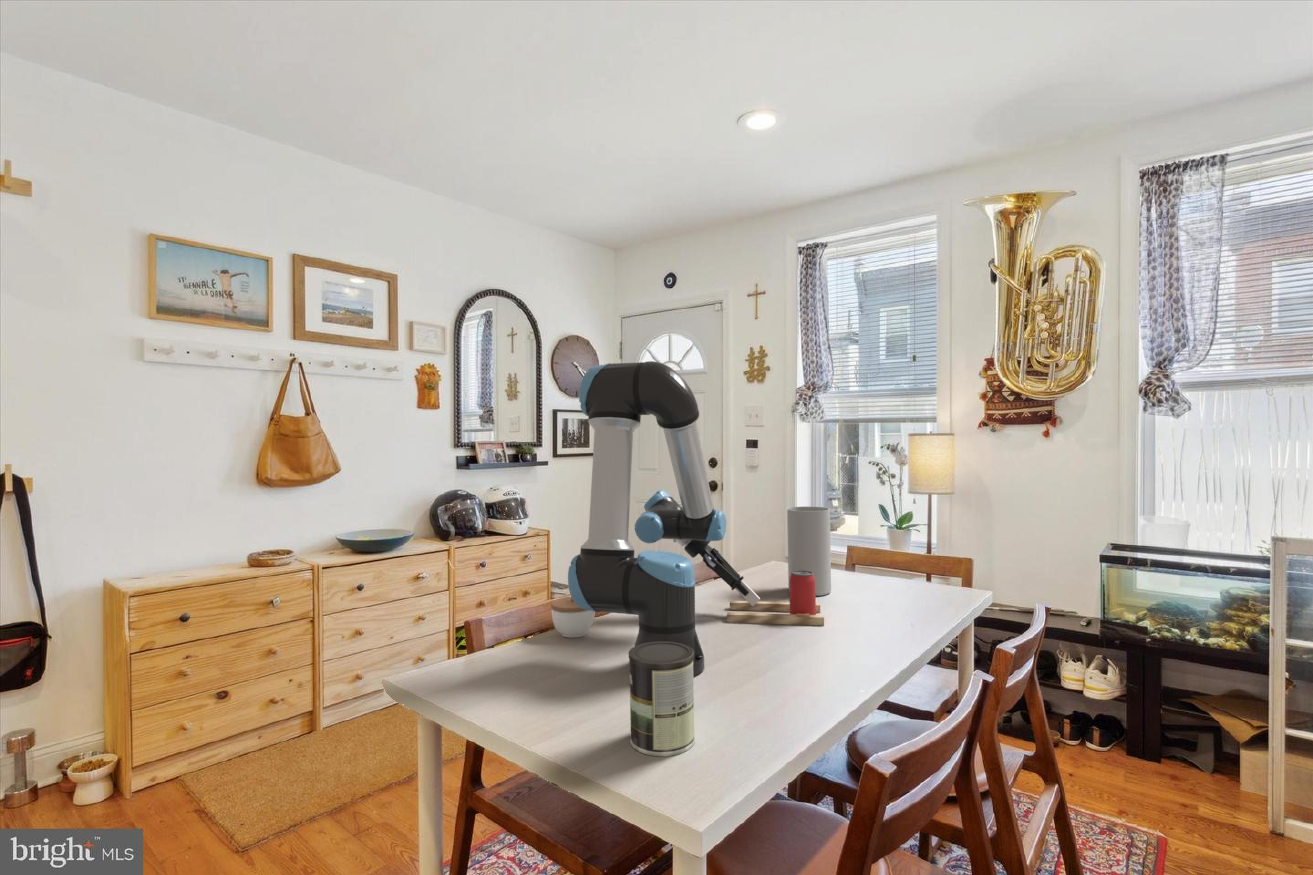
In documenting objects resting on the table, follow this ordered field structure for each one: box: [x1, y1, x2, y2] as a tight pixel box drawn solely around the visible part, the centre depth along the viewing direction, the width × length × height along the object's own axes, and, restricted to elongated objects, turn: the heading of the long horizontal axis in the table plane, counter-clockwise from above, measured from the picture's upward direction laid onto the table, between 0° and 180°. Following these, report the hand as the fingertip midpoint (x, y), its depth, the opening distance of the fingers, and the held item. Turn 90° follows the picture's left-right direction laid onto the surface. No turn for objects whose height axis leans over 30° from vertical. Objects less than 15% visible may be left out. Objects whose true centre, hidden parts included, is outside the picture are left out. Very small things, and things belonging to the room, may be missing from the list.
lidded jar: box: [550, 596, 596, 638], centre depth 155 cm, size 11×11×9 cm
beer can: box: [788, 570, 817, 615], centre depth 165 cm, size 7×7×12 cm
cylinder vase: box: [786, 506, 832, 597], centre depth 192 cm, size 12×12×25 cm
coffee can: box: [628, 641, 696, 757], centre depth 100 cm, size 10×10×14 cm
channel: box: [726, 600, 825, 627], centre depth 167 cm, size 24×14×2 cm, turn 80°
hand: (756, 602), depth 168 cm, fingers closed
